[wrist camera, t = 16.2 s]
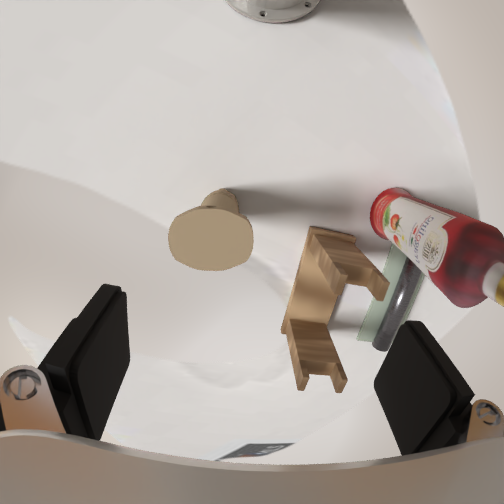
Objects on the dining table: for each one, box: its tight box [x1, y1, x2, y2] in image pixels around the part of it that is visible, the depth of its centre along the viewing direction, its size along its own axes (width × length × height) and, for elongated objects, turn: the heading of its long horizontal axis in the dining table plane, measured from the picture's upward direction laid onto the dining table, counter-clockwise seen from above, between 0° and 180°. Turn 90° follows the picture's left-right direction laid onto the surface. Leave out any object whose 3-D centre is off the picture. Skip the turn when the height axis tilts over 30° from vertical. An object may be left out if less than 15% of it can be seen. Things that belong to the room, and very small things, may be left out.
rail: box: [372, 257, 422, 352], centre depth 42 cm, size 15×3×3 cm, turn 168°
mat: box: [357, 243, 425, 343], centre depth 43 cm, size 16×7×1 cm, turn 168°
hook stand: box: [281, 226, 390, 393], centre depth 36 cm, size 15×6×13 cm, turn 168°
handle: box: [168, 188, 254, 271], centre depth 31 cm, size 5×6×15 cm
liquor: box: [370, 188, 504, 308], centre depth 26 cm, size 7×7×28 cm
